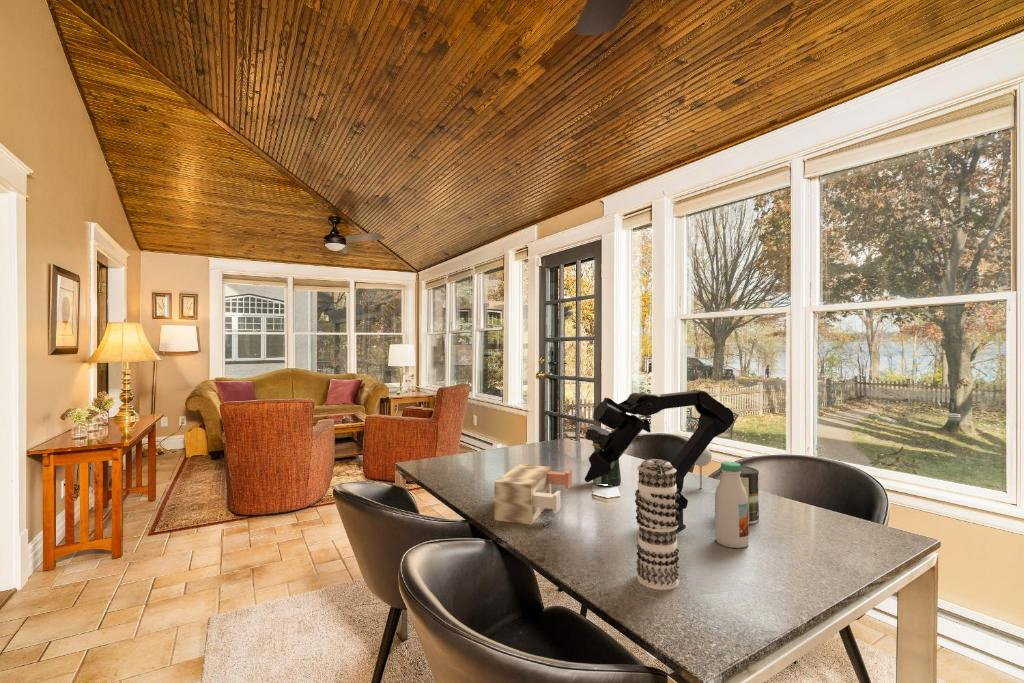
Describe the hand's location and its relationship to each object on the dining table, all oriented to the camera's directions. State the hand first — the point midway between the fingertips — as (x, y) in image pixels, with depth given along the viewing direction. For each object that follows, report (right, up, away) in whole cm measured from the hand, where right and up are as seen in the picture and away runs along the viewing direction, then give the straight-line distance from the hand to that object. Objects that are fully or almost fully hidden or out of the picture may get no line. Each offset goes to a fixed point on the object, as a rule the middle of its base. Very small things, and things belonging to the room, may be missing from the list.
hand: (590, 475), depth 133 cm
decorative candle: (+9, -13, -33) cm, 36 cm away
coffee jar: (+12, -14, +39) cm, 44 cm away
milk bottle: (+33, -13, -13) cm, 38 cm away
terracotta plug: (-10, -8, +17) cm, 21 cm away
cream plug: (-15, -10, +2) cm, 18 cm away
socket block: (-18, -14, +11) cm, 26 cm away
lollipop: (+44, -14, +33) cm, 57 cm away
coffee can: (+44, -14, +4) cm, 46 cm away
